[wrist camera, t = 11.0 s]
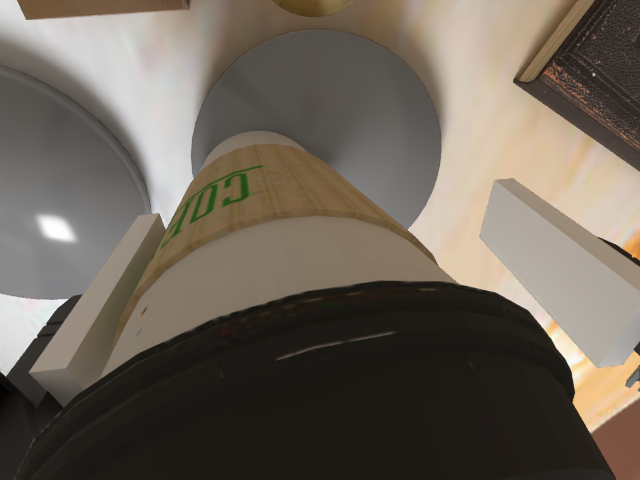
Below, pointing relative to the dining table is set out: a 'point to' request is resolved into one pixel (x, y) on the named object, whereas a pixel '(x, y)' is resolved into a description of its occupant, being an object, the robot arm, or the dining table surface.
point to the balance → (156, 7)
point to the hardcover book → (594, 73)
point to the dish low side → (333, 113)
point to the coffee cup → (313, 350)
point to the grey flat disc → (59, 191)
